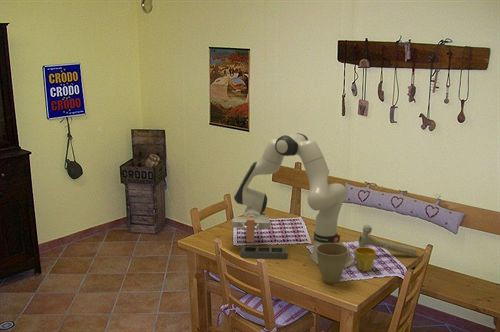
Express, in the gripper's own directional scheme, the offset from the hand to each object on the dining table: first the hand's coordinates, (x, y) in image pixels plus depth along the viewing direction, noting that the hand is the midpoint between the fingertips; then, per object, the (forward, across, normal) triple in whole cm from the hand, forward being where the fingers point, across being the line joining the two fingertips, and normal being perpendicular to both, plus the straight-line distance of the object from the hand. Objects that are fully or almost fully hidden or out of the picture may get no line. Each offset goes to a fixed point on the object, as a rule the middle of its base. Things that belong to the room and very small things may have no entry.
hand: (250, 228), depth 282 cm
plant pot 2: (+12, +58, +15) cm, 61 cm away
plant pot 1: (+26, +40, +15) cm, 50 cm away
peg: (-1, 0, +7) cm, 7 cm away
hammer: (-5, +72, +15) cm, 74 cm away
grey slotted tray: (-1, +7, +15) cm, 17 cm away
